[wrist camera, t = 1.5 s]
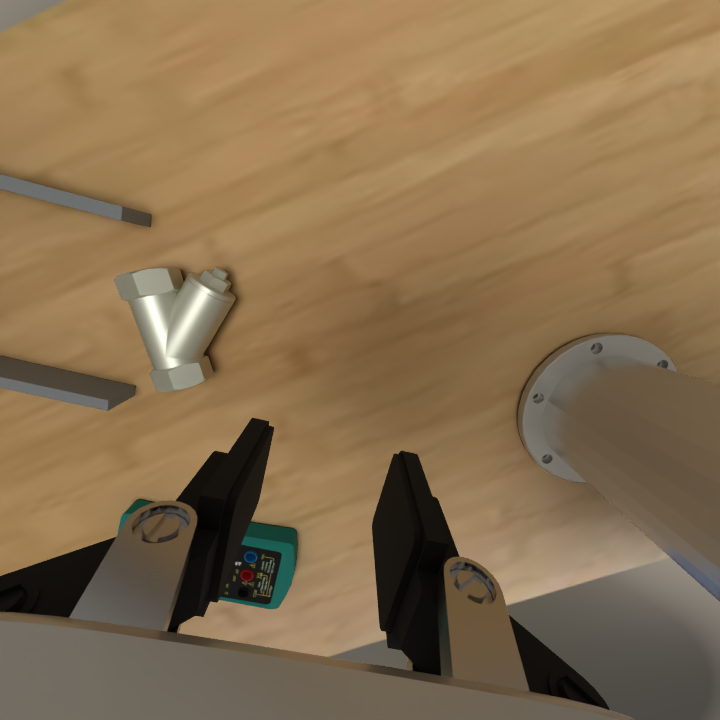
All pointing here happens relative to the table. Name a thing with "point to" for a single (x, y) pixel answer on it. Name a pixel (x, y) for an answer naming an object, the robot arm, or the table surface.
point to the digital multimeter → (256, 564)
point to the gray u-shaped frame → (52, 379)
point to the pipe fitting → (177, 320)
